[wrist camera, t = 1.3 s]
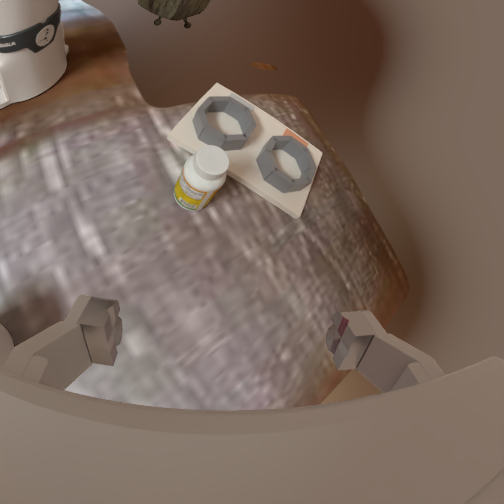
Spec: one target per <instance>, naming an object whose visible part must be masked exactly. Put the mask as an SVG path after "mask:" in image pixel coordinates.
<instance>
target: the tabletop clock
mask: <svg viewBox="0 0 504 504" xmlns="http://www.w3.org/2000/svg"><path fill="white" fill-rule="evenodd" d="M209 2H210V0H138V4H139V5H140V6H141V7H143V8H144V9H146V10H148V11H150V12H152V13H154V14H156V15H159V18H158V19H157V20H155V21H154V24H155V25H159V24H161V20H160V19H161V18H162V17H163V18H167V19H170V20H181V19H183V20H184V22H185V25H184V27H185V28H190V27H191V23H189V22H187V17H190V16H193V15H197V14H200V13H201V12H202V11H204V9H205V8H206V7H207V5H208V3H209Z"/></svg>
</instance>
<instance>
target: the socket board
mask: <svg viewBox="0 0 504 504" xmlns="http://www.w3.org/2000/svg"><path fill="white" fill-rule="evenodd" d="M167 139H168V140H170V141H172V142H173V143H175V144H177V145H178V146H180V147H182V148H184V149H185V150H187V151H189V152H190V153H192V154H196V153H197V151H198V150H199V149H200V148H201V147H203V146H206V145H214V146H217V147H219V148H221V149H223V150H224V151H225V152H226V154H227V155H228V158H229V167H228V169H227V171H226V174H227V175H228V176H230V177H232V178H233V179H235V180H236V181H238V182H239V183H241V184H243V185H244V186H246V187H247V188H249V189H250V190H252V191H254V192H255V193H257V194H258V195H260V196H261V197H263V198H264V199H266V200H267V201H269V202H271V203H272V204H274V205H275V206H277V207H278V208H280V209H281V210H283V211H284V212H286V213H287V214H289V215H290V216H292V217H293V218H295V219H298V218H299V217H300V216H301V213H302V210H303V208H304V205H305V202H306V199H307V196H308V194H309V191H310V188H311V185H312V182H313V179H314V176H315V174H316V171H317V168H318V165H319V162H320V159H321V156H322V152H321V151H319V150H318V149H317V148H315V147H314V146H313V145H311V144H310V143H309V142H307V141H306V140H305V139H303V138H302V137H301V136H299V135H298V134H296V133H295V132H294V131H292V130H291V129H289V128H288V127H286V126H285V125H284V124H282V123H281V122H279V121H278V120H276V119H275V118H273V117H272V116H270V115H269V114H267V113H266V112H264V111H263V110H261V109H260V108H258V107H256V106H255V105H253V104H252V103H250V102H249V101H247V100H245V99H244V98H242V97H240V96H239V95H237V94H235V93H234V92H232V91H230V90H229V89H227V88H225V87H223V86H222V85H220V84H218V83H216V84H215V85H214V86H213V87H212V88H211V89H210V90H209V91H208V92H207V93H206V94H205V95H204V96H203V97H202V98H201V99H200V100H199V101H198V102H197V103H196V104H195V105H194V107H193V108H192V109H191V110H190V111H189V112H188V113H187V114H186V115H185V116H184V117H183V118H182V120H181V121H180V122H179V123H178V124H177V125H176V126H175V127H174V129H173V130H172V131H171V132H170V133H169V134H168V138H167Z"/></svg>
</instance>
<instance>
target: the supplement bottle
mask: <svg viewBox="0 0 504 504" xmlns="http://www.w3.org/2000/svg"><path fill="white" fill-rule="evenodd" d="M228 167H229V158H228V155H227V154H226V152H225V151H224V150H223V149H221V148H219V147H217V146H214V145H206V146H203V147H201V148H200V149H199V150H198V151H197V153H196V154H194V155H192V156H191V157H189V158H188V160H187V161H186V163H185V165H184V167H183V169H182V171H181V174H180V176H179V178H178V181H177V183H176V185H175V188H174V197H175V200H176V202H177V203H178V204H179V205H180V206H181V207H182V208H184V209H186V210H189V211H198V210H201V209H203V208H204V207H205V206H206V205H207V204H208V203H209V202H210V200H211V199H212V198H213V197H214V195H215V194H216V193H217V192H218V190H219V189H220V188H221V186H222V185H223V184H224V182H225V179H226V171H227V169H228Z"/></svg>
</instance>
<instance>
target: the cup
mask: <svg viewBox="0 0 504 504" xmlns="http://www.w3.org/2000/svg"><path fill="white" fill-rule="evenodd" d="M13 348H14V344H13V340H12V338H11V336H10V334H9V332H8V331H7V329H6V328H5V327H4V326H3V325H1V324H0V370H1V369H2V367H3V366H4V364H5V362H6V360H7V358H8V357H9V355H10V353H11V351H12V350H13Z"/></svg>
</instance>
